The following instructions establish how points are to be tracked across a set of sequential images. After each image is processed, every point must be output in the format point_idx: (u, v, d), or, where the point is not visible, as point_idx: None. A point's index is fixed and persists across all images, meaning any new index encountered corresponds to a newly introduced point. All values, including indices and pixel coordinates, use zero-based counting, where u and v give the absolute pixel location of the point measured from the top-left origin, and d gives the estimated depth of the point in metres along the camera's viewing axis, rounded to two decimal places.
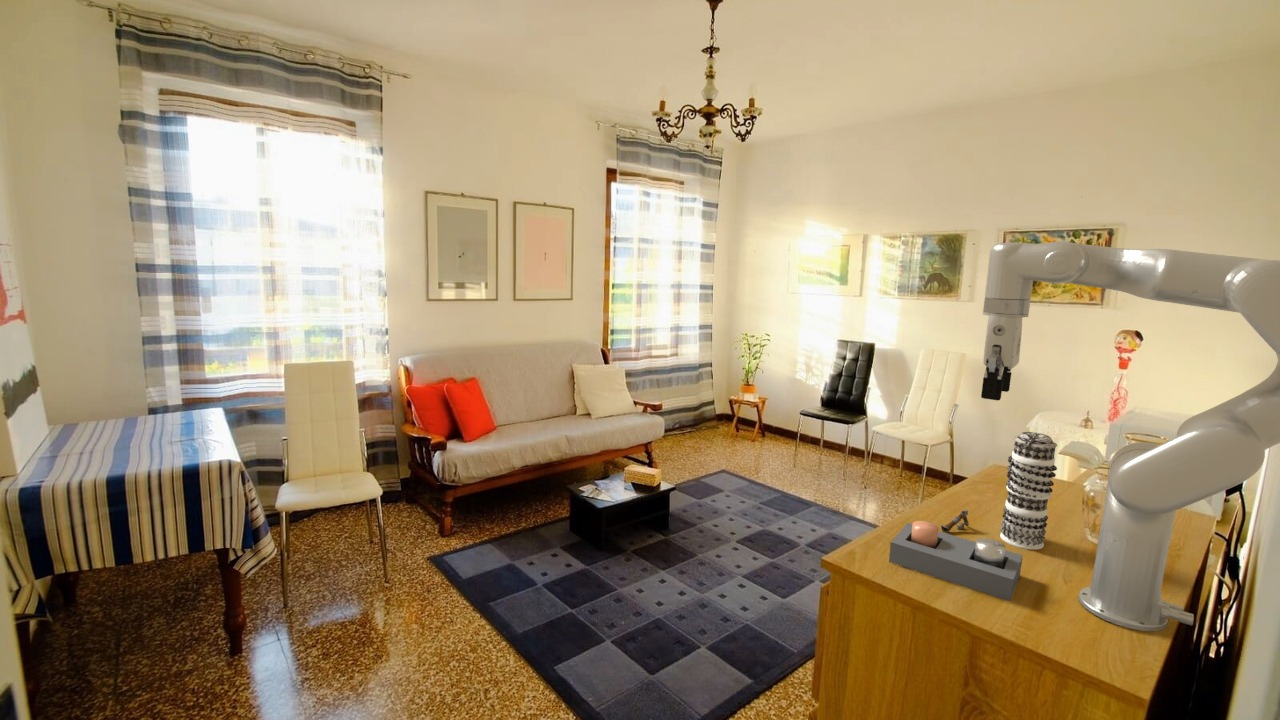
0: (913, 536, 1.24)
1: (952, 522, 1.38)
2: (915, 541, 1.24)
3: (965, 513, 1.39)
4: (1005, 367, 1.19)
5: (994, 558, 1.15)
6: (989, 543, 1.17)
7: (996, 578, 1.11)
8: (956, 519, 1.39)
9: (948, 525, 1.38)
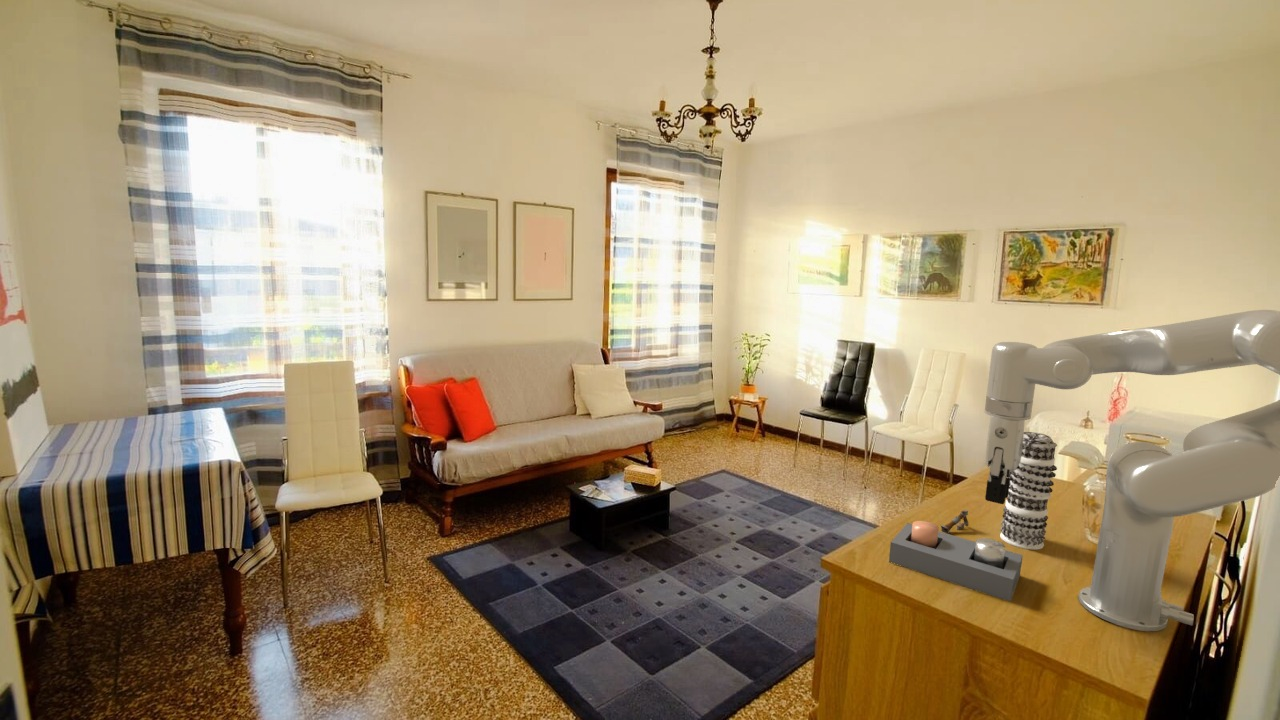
0: (913, 536, 1.24)
1: (952, 522, 1.38)
2: (915, 541, 1.24)
3: (965, 513, 1.39)
4: None
5: (994, 558, 1.15)
6: (989, 543, 1.17)
7: (996, 578, 1.11)
8: (956, 519, 1.38)
9: (948, 525, 1.38)
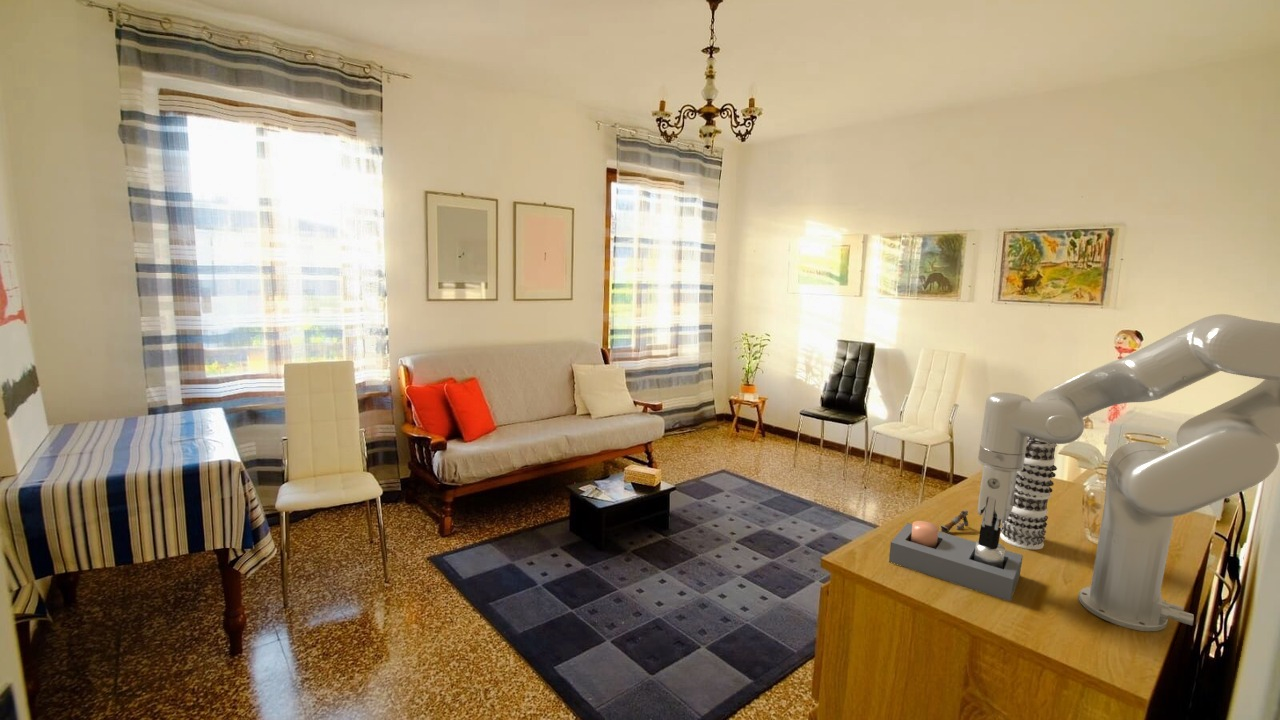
0: (913, 536, 1.24)
1: (952, 522, 1.38)
2: (915, 541, 1.24)
3: (965, 513, 1.39)
4: (995, 520, 1.16)
5: (994, 560, 1.15)
6: None
7: (996, 578, 1.11)
8: (956, 519, 1.38)
9: (948, 525, 1.38)
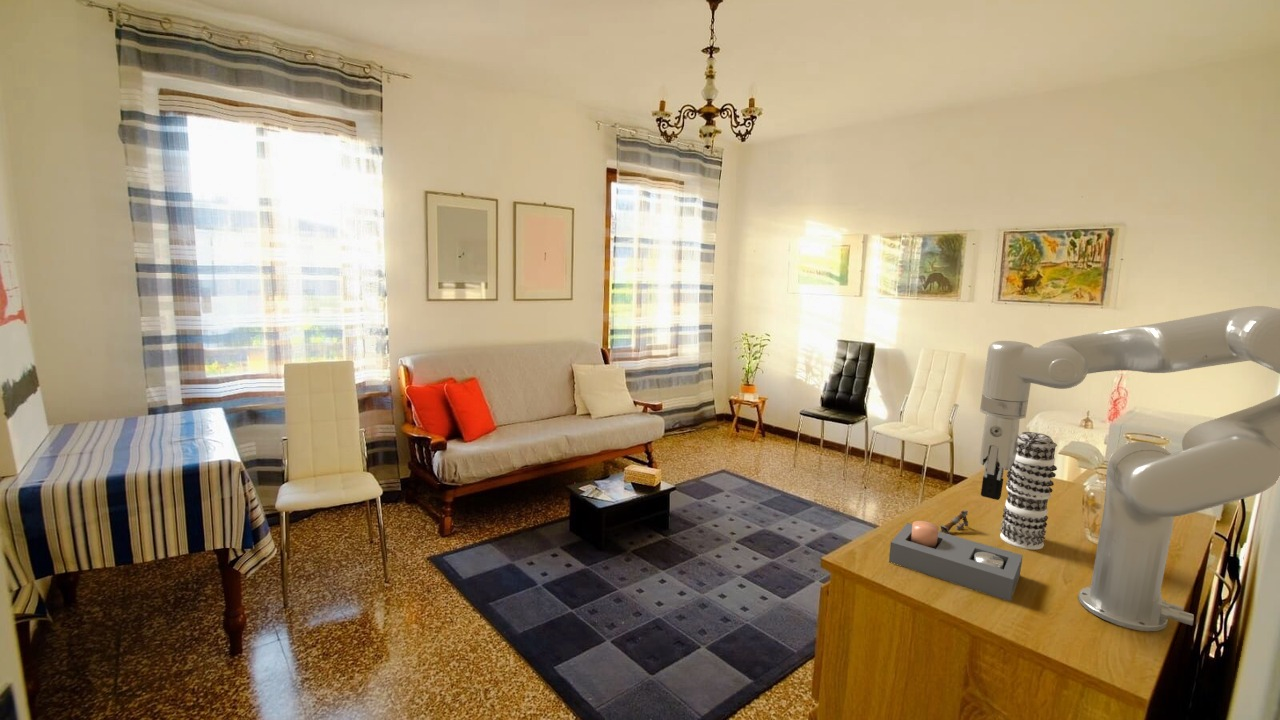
0: (913, 536, 1.24)
1: (951, 522, 1.38)
2: (915, 541, 1.24)
3: (965, 513, 1.39)
4: None
5: None
6: (988, 557, 1.18)
7: (996, 578, 1.11)
8: (956, 519, 1.38)
9: (947, 525, 1.38)
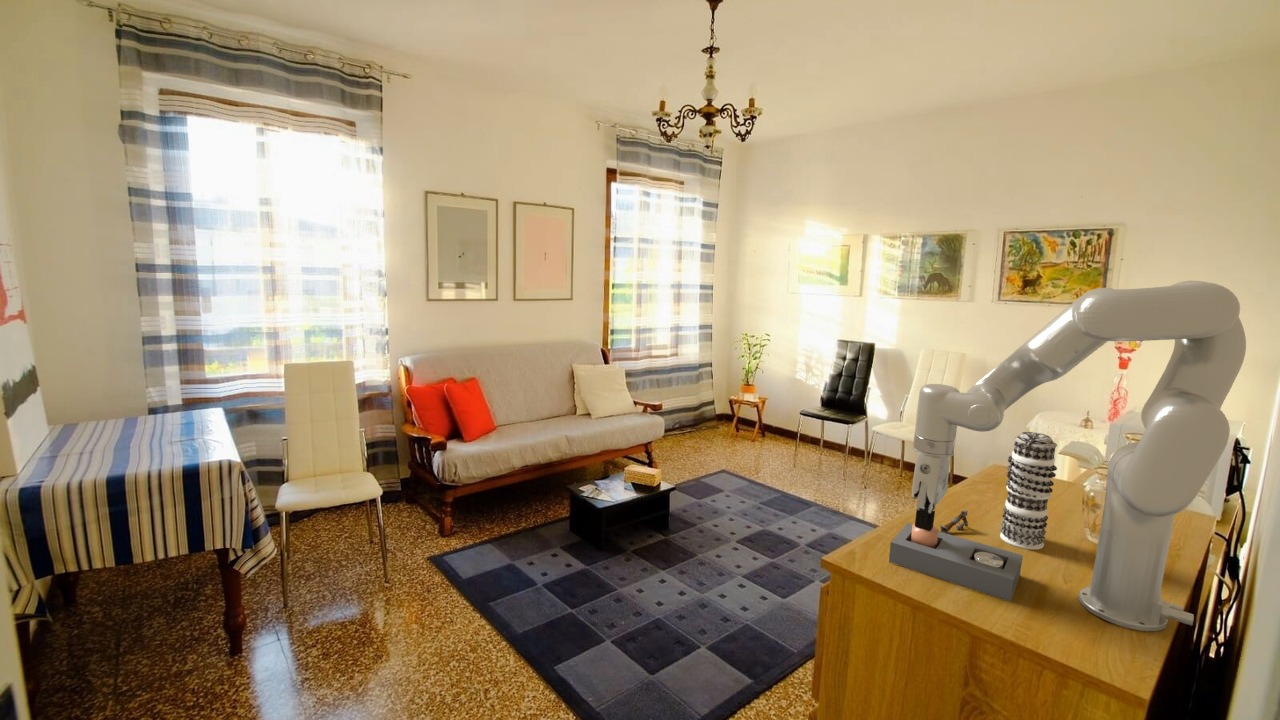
0: (913, 538, 1.24)
1: (951, 522, 1.38)
2: None
3: (964, 513, 1.39)
4: None
5: None
6: (988, 557, 1.18)
7: (996, 578, 1.11)
8: (955, 519, 1.38)
9: (947, 525, 1.38)
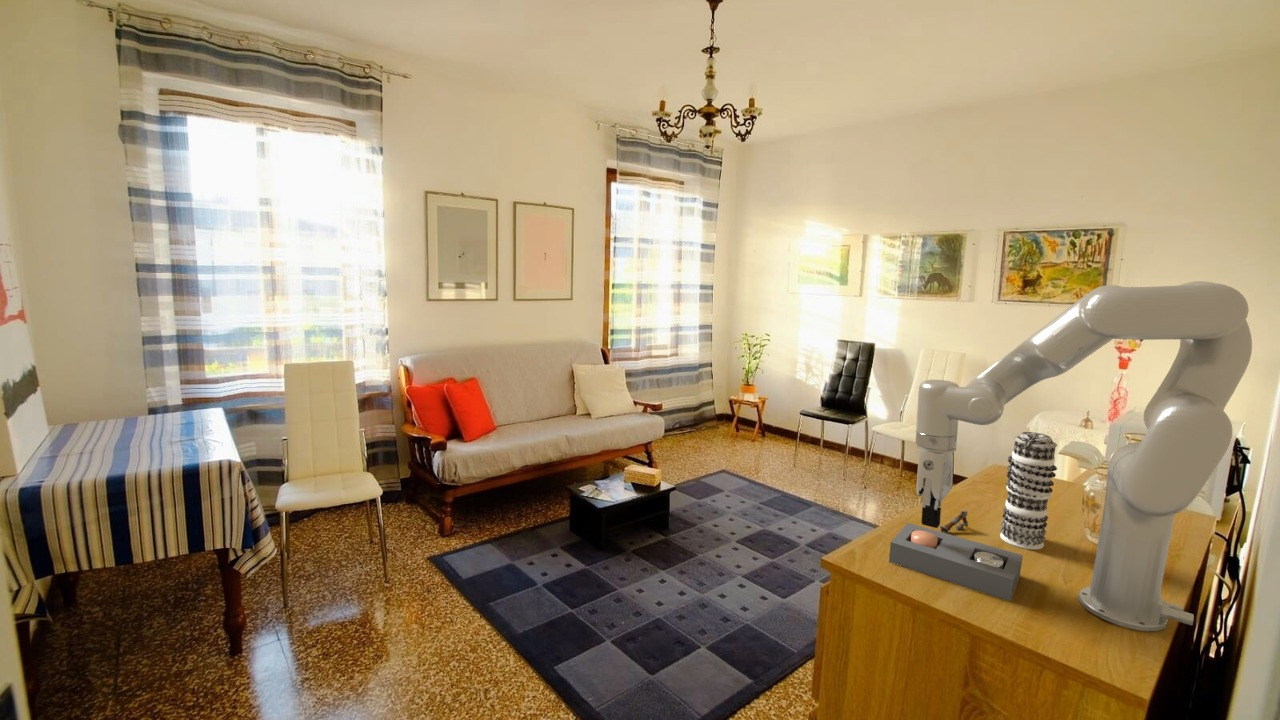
0: None
1: (951, 522, 1.38)
2: None
3: (964, 514, 1.39)
4: None
5: None
6: (988, 557, 1.18)
7: (996, 578, 1.11)
8: (955, 519, 1.38)
9: (947, 525, 1.38)
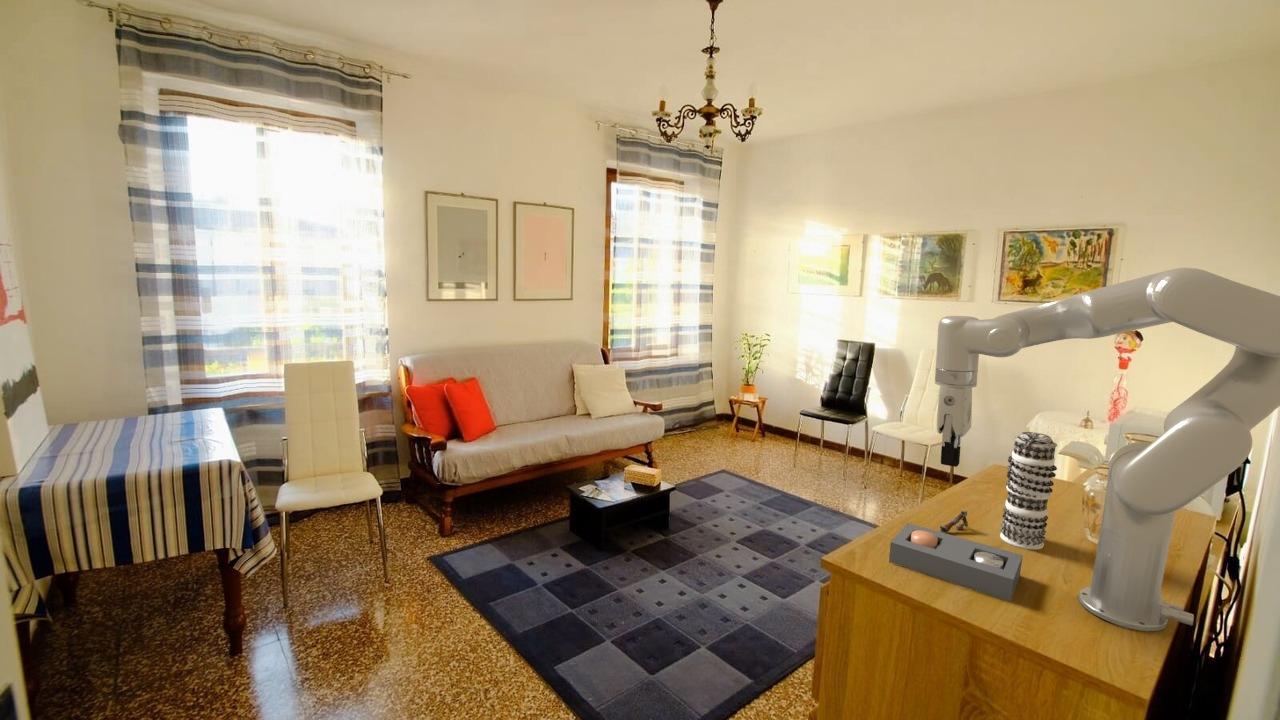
0: None
1: (951, 522, 1.38)
2: None
3: (964, 513, 1.39)
4: None
5: None
6: (988, 557, 1.18)
7: (996, 578, 1.11)
8: (955, 519, 1.38)
9: (947, 525, 1.38)
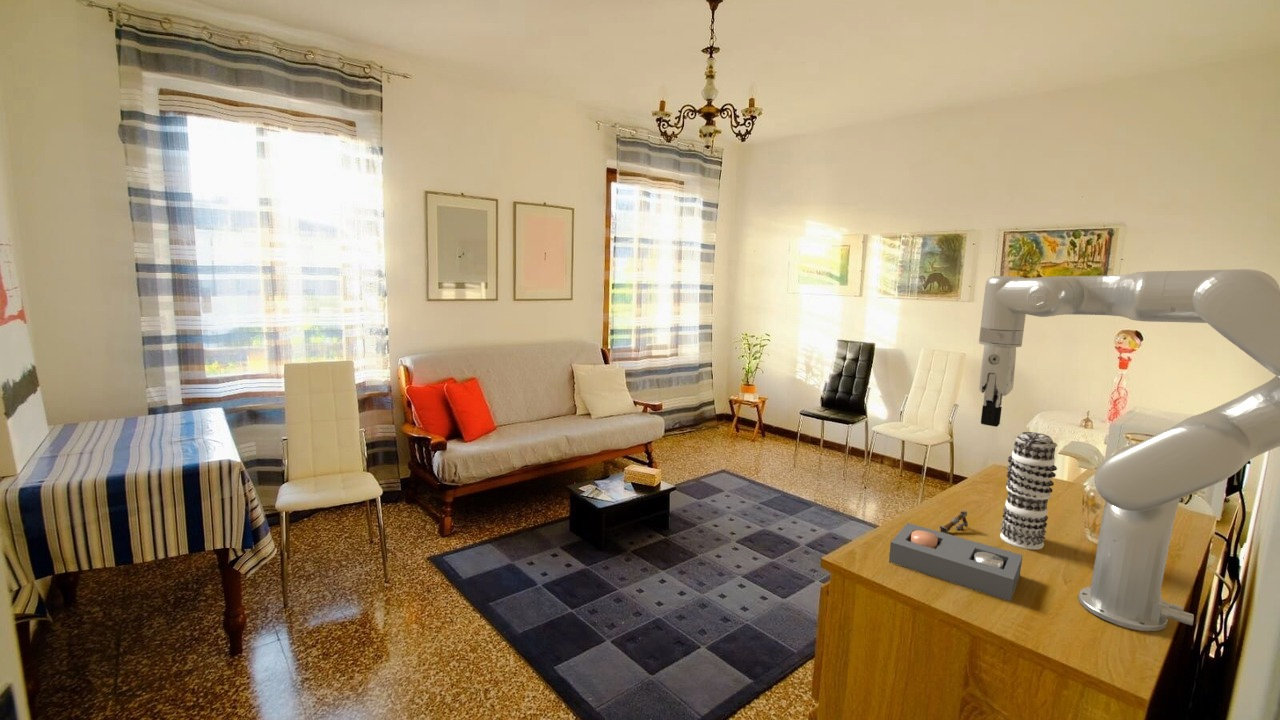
0: None
1: (951, 523, 1.38)
2: None
3: (964, 514, 1.39)
4: None
5: None
6: (988, 557, 1.18)
7: (996, 578, 1.11)
8: (955, 520, 1.38)
9: (947, 526, 1.38)
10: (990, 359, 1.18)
